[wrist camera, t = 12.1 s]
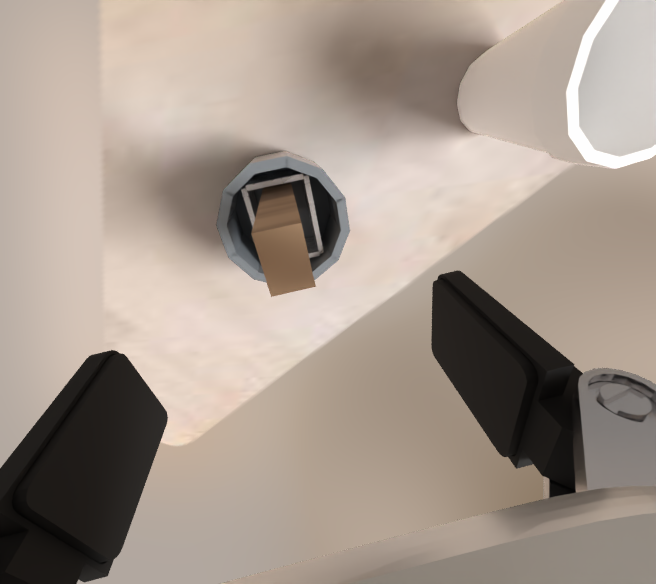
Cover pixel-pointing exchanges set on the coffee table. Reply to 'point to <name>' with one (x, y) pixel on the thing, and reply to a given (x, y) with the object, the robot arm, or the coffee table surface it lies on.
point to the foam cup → (571, 84)
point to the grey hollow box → (279, 178)
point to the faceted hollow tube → (327, 206)
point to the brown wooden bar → (281, 241)
